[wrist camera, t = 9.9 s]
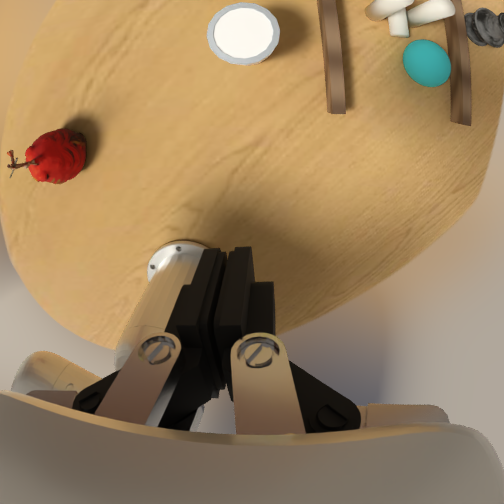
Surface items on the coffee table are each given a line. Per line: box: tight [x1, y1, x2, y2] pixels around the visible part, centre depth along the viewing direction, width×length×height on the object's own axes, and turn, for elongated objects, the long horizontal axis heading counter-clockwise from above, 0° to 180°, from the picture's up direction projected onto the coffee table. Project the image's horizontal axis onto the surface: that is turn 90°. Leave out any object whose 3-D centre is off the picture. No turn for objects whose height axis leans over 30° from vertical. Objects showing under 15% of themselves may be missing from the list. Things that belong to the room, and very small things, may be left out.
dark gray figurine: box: [464, 8, 504, 48], centre depth 17 cm, size 6×6×12 cm
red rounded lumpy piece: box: [7, 129, 86, 184], centre depth 28 cm, size 8×7×15 cm
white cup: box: [207, 2, 280, 66], centre depth 25 cm, size 7×7×7 cm
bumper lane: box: [317, 0, 471, 126], centre depth 23 cm, size 25×19×3 cm
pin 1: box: [365, 0, 414, 22], centre depth 20 cm, size 2×2×9 cm
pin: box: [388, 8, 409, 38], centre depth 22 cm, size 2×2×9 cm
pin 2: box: [406, 0, 455, 28], centre depth 20 cm, size 2×2×9 cm
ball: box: [403, 40, 451, 87], centre depth 24 cm, size 6×6×6 cm
